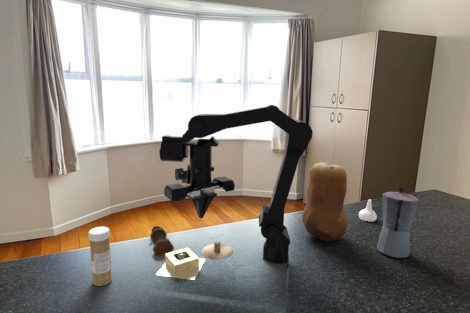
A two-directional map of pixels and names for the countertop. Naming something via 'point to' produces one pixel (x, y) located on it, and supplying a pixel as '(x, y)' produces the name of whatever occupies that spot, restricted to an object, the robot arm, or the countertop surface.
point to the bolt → (161, 241)
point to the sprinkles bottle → (100, 255)
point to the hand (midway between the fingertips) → (200, 217)
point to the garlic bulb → (368, 213)
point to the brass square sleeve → (181, 262)
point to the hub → (189, 275)
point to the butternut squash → (326, 202)
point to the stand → (217, 251)
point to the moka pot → (397, 223)
